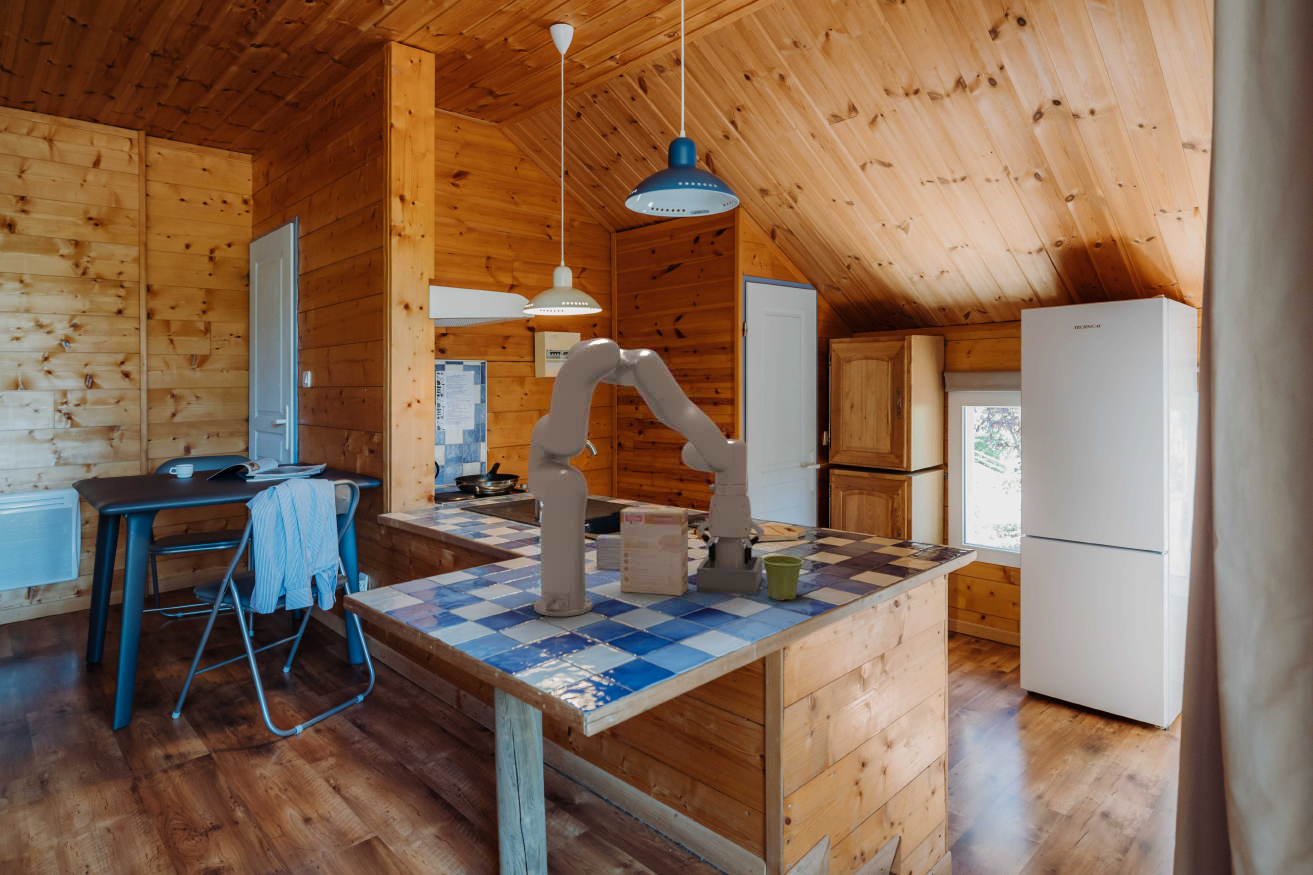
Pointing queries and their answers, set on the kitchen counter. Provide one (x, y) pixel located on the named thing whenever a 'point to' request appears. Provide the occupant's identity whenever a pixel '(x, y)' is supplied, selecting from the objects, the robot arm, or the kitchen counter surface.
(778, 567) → the plant pot
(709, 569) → the walled box
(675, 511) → the coffeecake box
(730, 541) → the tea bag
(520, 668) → the kitchen counter surface
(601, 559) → the medicine box
